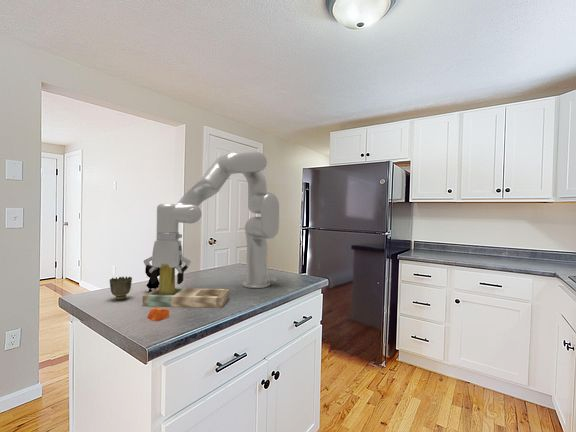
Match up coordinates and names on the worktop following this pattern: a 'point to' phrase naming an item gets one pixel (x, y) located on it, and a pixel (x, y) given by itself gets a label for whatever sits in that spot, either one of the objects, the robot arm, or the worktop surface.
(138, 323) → the worktop surface
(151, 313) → the rock
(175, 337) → the worktop surface
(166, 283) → the vase
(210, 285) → the worktop surface
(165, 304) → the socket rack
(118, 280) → the cup
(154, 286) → the cat figurine
